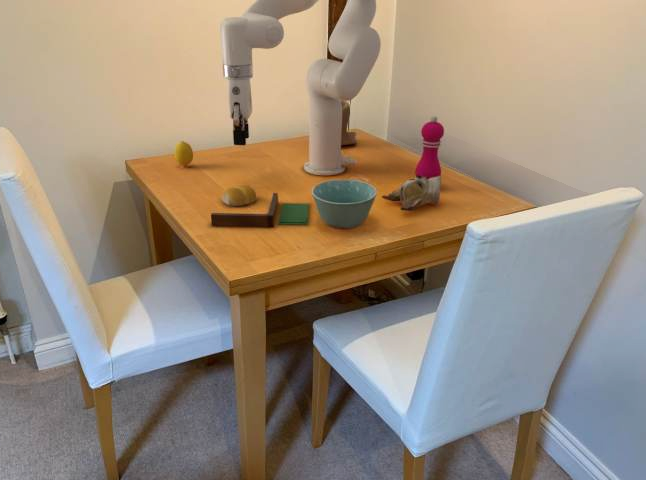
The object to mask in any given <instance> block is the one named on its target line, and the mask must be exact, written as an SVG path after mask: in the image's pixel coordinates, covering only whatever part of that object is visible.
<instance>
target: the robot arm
mask: <svg viewBox="0 0 646 480" xmlns="http://www.w3.org/2000/svg"><path fill="white" fill-rule="evenodd" d="M317 2H319V0H255V1H254V2H253V3H252V4H251V5H250V6H249V7H248V8H247V9H246V10H245V11H244V12H243V13H242V14H241V16H240V17H239V16H238V17H237V16H231V17H225V18H223V19H221V21H220V25H219V26H220V43H221V44H220V45H221V58H222V59H221V60H222V75H223V76H222V77H223V79H225V80H227V96H228V110H229V111H228V112H229V117H230V119H232V137H233V140H232V141H233V145H234V146H246V145H247V139H249V138H250V134H249V133H250V127H249V118H251V115H252V113H253V99H252V86H251V79H253V77H254V70H253V68H254V66H253V49H265V50H271V49H274V48H276V47H278V46H279V45H280V44H281V43H282V41H283V39H284V35H285V30H284V27H283V23H281V21H279V20H281V19H284V18H285V17H288V16H292V15H295V14H298V13H302V12H305V11H307V10H309V9H311V8H312V7H313V6H314V5H316V3H317ZM376 13H377V0H346V5H345V7H344V9H343V11H342V13H341V15H340V17H339V18H338V21H337V22H336V25H335V26H334V28H333V31H332V33H331V35H330V36H329V39H328V45H327V46H328V47H327V48H328V51H329V52H330V54H331V55H332V56H333V57H335V58H337V59H339V60H342V61H339V60H333V59H329V58H319V59H317V60H314V61H313V62H312V63H311V64H310V65H309V67H308V69H307V71H306V87H307V93H308V102H309V103H308V104H309V117H308V118H309V120H308V121H309V128H308V129H309V132H308V138H309V139H308V161H306V162H305V163H304V164H303V170H304V171H305V172H306V173H308V174H311V175H315V176H324V177H327V176H336V175H339V174H342V173H344V172H345V171H346V165H347V166H356V160H357V159H356V158H352V156H344V155H342V154H343V153H342V145H341V130H342V105H341V100H342V101H346V102H347V101H351V100H353V99H354V98H356V97H357V96H358V94H359V93H360V92H361V90H362V88H363V86H364V85H365V84H366V82H367V79H368V77H369V76H370V73H371V72H372V70H373V68H374V66H375V64H376V62H377V61H378V58H379V55H380V52H381V45H382V44H381V36H380V35H379V32H378V31H377V30H376V29H375V28H373V27H371V25H372V22H373V21H374V18H375V16H376Z"/></svg>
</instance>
